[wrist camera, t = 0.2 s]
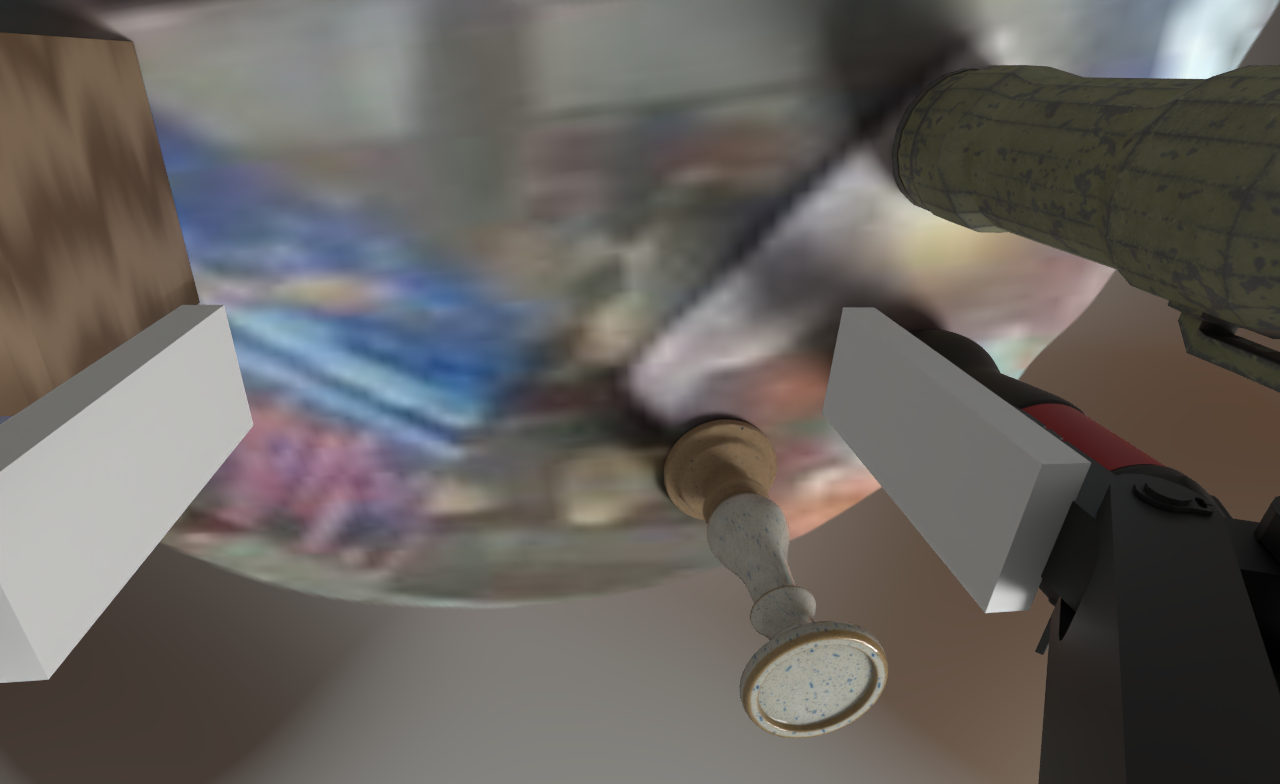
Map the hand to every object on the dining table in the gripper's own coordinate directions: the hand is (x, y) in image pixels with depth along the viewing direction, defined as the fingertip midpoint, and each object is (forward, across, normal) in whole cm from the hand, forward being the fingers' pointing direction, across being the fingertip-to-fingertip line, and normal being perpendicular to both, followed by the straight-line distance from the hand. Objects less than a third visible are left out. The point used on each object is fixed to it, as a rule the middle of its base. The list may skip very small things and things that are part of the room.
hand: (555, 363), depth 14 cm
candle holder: (+28, +13, -21) cm, 37 cm away
